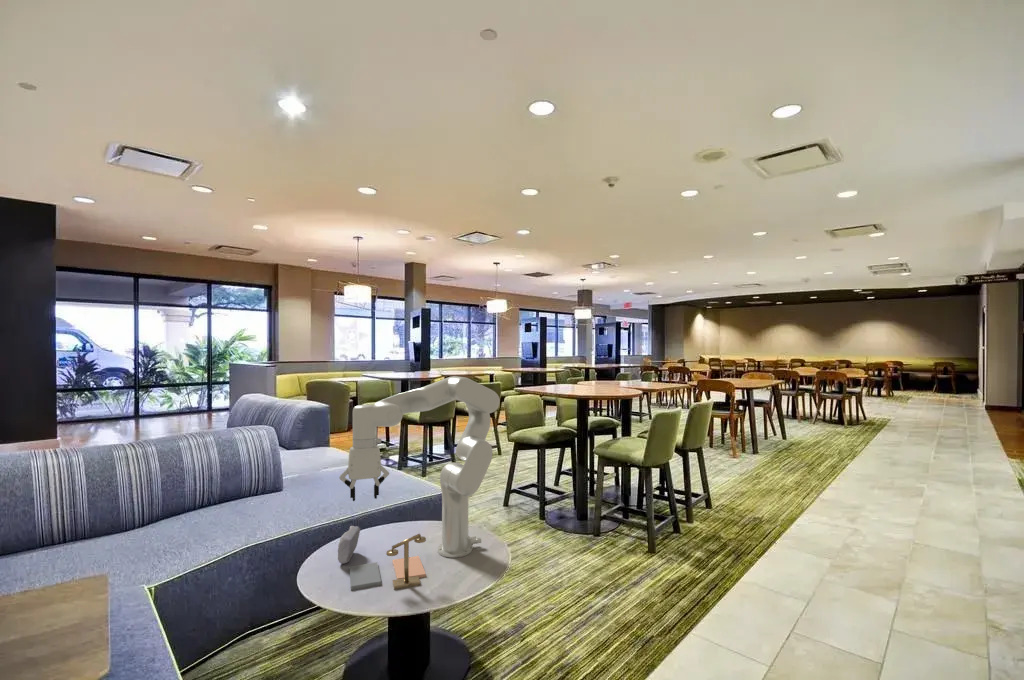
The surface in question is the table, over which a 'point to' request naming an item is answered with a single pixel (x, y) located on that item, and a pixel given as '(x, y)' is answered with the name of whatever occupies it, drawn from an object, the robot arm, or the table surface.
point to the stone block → (348, 544)
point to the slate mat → (364, 576)
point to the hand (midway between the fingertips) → (364, 498)
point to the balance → (406, 563)
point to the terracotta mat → (414, 567)
